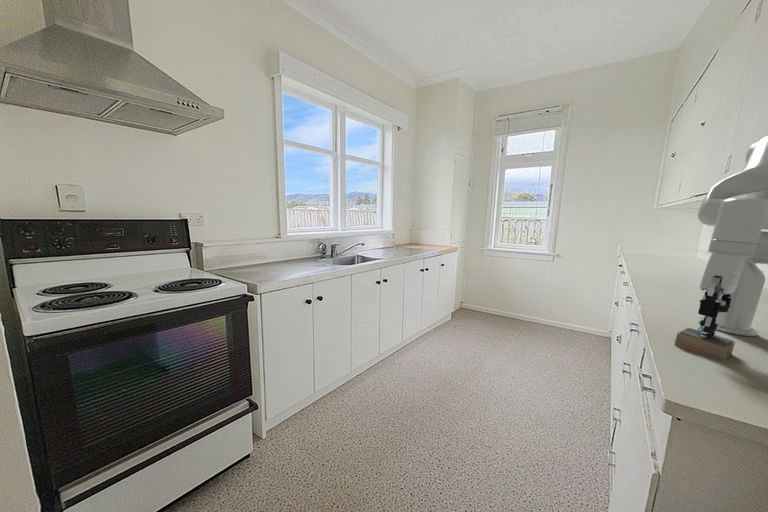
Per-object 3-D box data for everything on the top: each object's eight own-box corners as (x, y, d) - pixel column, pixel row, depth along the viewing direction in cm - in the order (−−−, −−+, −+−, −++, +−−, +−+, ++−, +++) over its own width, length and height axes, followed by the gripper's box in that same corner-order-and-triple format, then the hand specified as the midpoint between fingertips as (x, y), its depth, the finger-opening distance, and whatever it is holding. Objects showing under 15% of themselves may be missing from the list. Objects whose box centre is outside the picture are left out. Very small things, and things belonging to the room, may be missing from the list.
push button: (716, 343, 74) (728, 305, 72) (687, 334, 78) (697, 298, 76) (722, 337, 77) (732, 301, 76) (693, 329, 82) (703, 295, 80)
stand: (684, 339, 84) (687, 326, 84) (731, 354, 77) (735, 340, 76) (674, 344, 80) (677, 331, 80) (722, 361, 73) (727, 346, 72)
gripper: (719, 245, 81) (702, 304, 84) (699, 247, 72) (681, 313, 75) (762, 249, 75) (743, 313, 78) (746, 252, 66) (724, 324, 69)
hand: (712, 313), depth 77 cm, fingers open, 9 cm apart
